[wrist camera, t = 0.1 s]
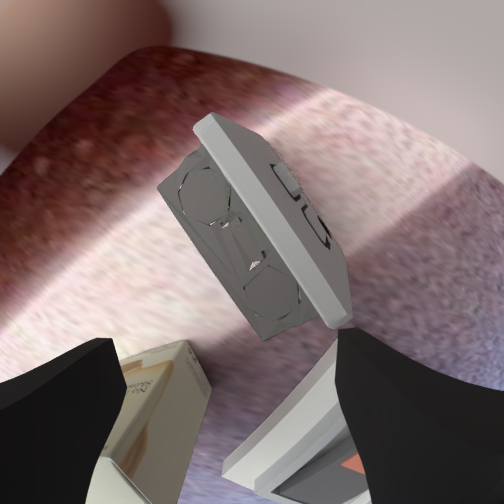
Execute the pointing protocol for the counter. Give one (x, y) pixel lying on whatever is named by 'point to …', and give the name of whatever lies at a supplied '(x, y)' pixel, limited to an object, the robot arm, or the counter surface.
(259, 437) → the breaker panel
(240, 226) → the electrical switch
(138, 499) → the skincare box
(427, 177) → the counter surface
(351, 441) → the rocker
